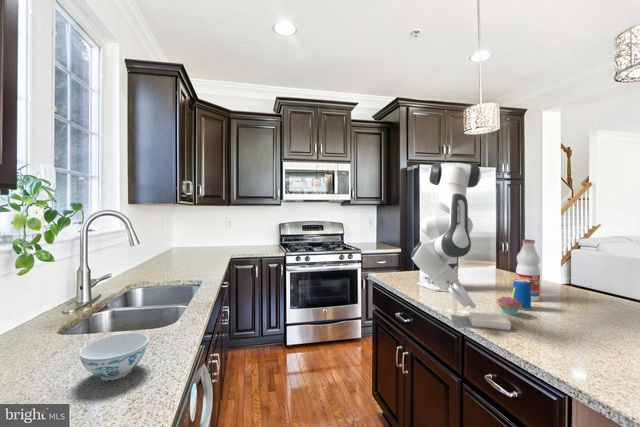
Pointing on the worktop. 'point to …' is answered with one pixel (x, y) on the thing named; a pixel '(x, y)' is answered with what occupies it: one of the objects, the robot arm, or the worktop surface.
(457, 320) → the mat
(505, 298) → the cupcake
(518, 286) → the beverage can
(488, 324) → the tile
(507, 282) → the worktop surface
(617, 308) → the worktop surface
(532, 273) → the fruit juice
